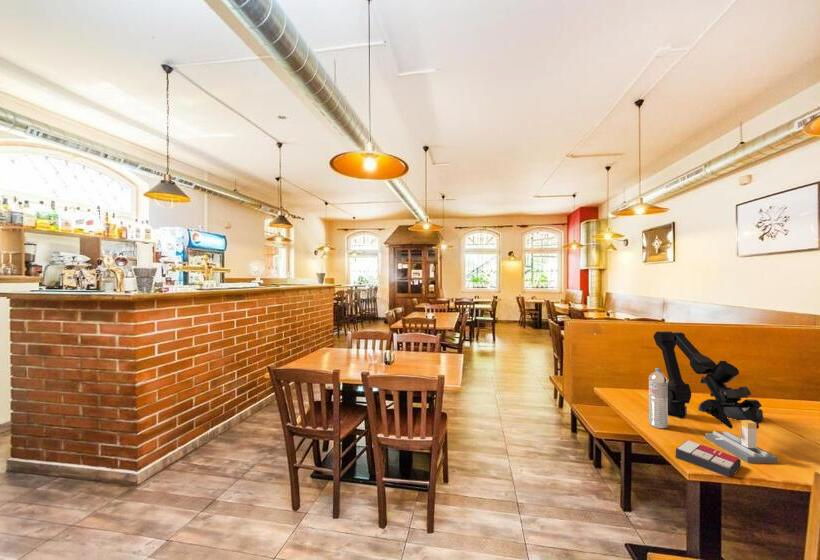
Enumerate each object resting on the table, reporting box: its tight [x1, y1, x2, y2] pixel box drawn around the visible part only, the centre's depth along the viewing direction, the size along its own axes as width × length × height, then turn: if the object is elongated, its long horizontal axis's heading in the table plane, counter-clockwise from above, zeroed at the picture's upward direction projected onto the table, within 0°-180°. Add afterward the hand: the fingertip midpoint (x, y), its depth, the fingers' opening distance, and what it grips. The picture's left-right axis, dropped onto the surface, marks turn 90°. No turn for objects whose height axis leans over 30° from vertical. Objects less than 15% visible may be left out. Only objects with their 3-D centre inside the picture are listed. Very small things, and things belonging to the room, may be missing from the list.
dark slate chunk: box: [698, 400, 764, 425], centre depth 160 cm, size 15×22×5 cm
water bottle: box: [648, 367, 669, 430], centre depth 148 cm, size 7×7×25 cm
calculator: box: [675, 440, 742, 478], centre depth 119 cm, size 11×4×15 cm
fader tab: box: [740, 420, 758, 451], centre depth 123 cm, size 3×3×10 cm
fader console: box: [704, 430, 779, 464], centre depth 127 cm, size 18×10×3 cm, turn 177°
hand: (744, 428), depth 125 cm, fingers open, 9 cm apart
